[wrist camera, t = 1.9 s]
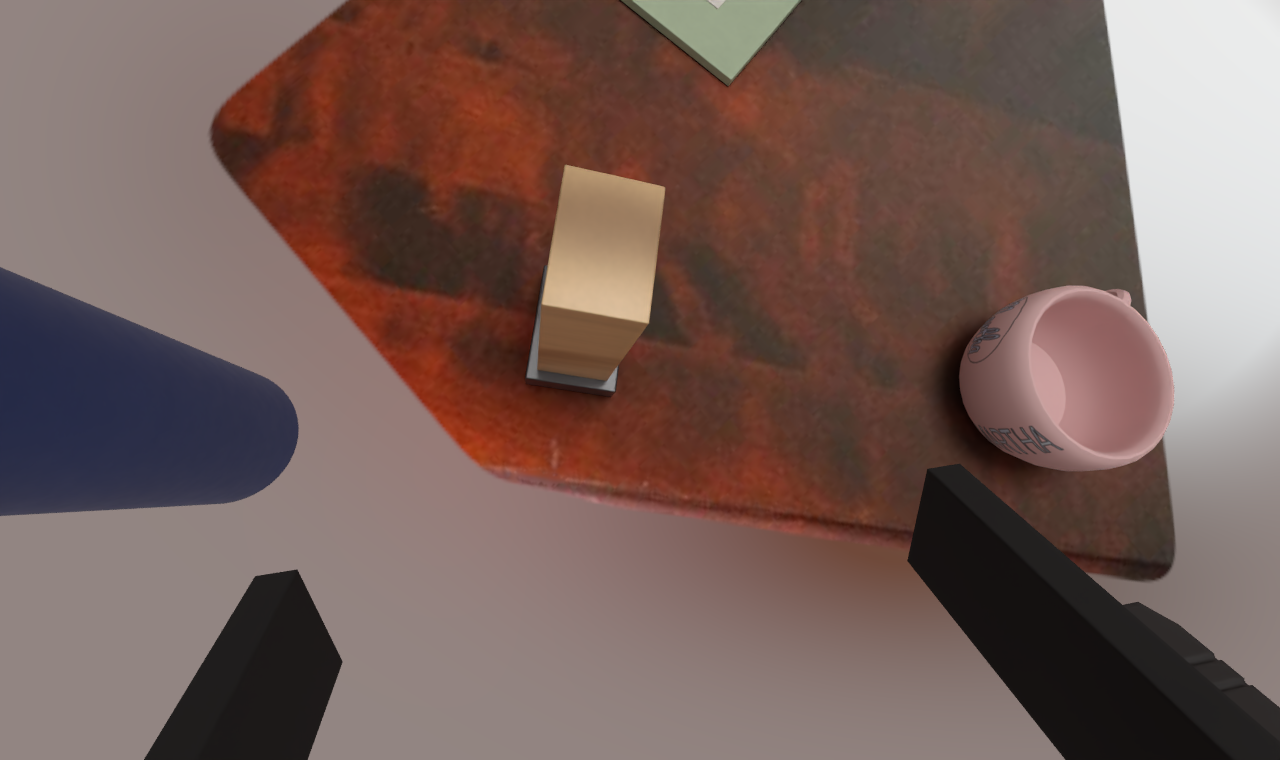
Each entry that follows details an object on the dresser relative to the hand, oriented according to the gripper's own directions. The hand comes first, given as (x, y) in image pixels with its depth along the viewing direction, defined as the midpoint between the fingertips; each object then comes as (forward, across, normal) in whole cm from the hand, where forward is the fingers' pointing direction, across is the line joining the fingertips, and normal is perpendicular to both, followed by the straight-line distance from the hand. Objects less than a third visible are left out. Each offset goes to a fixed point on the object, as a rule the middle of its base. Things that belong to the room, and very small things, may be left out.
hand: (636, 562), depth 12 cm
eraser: (+19, 0, -2) cm, 19 cm away
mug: (+18, +26, -8) cm, 33 cm away
